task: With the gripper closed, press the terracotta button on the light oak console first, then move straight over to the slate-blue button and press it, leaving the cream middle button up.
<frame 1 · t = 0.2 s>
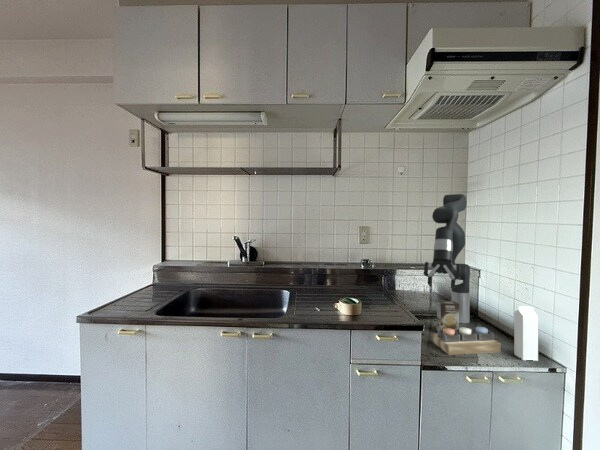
hand: (440, 287, 129), 30 cm above the table, tool tilted 20°, fingers open, 8 cm apart
coffee box: (447, 332, 158), on the table
milk: (525, 357, 128), on the table
cream button: (465, 331, 139), point 7 cm above the table, slide at 0.0 cm
console: (465, 346, 140), on the table
slate blue button: (481, 331, 140), point 7 cm above the table, slide at 0.0 cm
terracotta button: (448, 332, 139), point 7 cm above the table, slide at 0.0 cm
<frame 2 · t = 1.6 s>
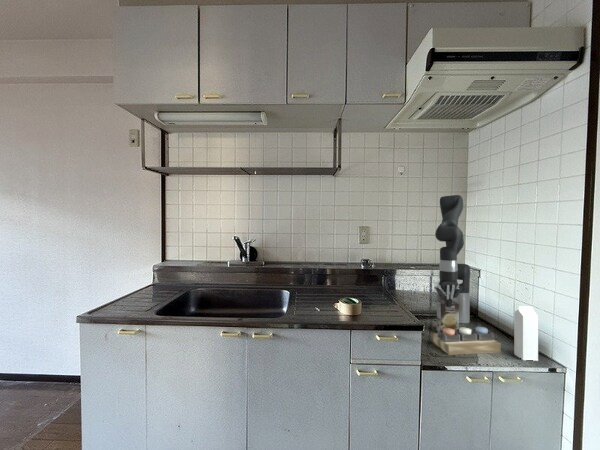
hand: (448, 306, 139), 19 cm above the table, tool pointing down, fingers closed
nothing on the table moved.
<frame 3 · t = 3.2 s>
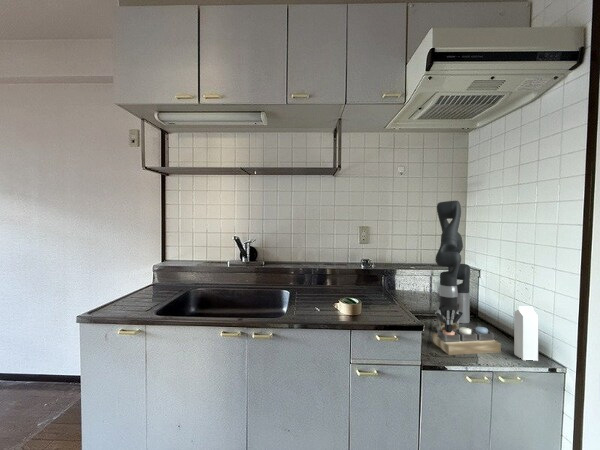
hand: (448, 331, 139), 7 cm above the table, tool pointing down, fingers closed
terracotta button: (448, 334, 139), point 6 cm above the table, slide at 0.9 cm, touching gripper
everything else where it was.
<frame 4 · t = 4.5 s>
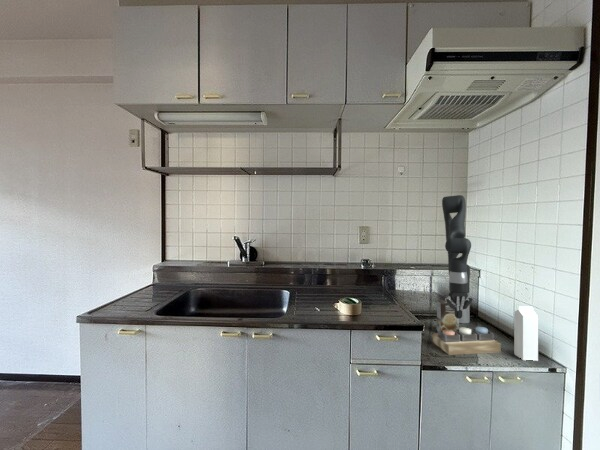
hand: (458, 317, 140), 13 cm above the table, tool pointing down, fingers closed
terracotta button: (448, 334, 139), point 6 cm above the table, slide at 0.9 cm
everything else where it was.
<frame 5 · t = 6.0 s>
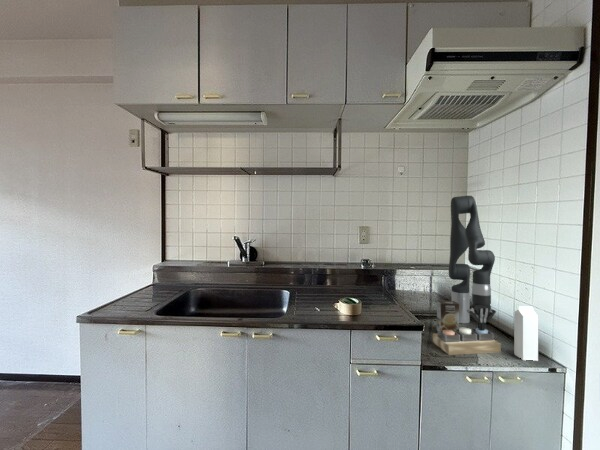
hand: (481, 329, 140), 8 cm above the table, tool pointing down, fingers closed
slate blue button: (481, 332, 140), point 6 cm above the table, slide at 0.6 cm, touching gripper
everything else where it was.
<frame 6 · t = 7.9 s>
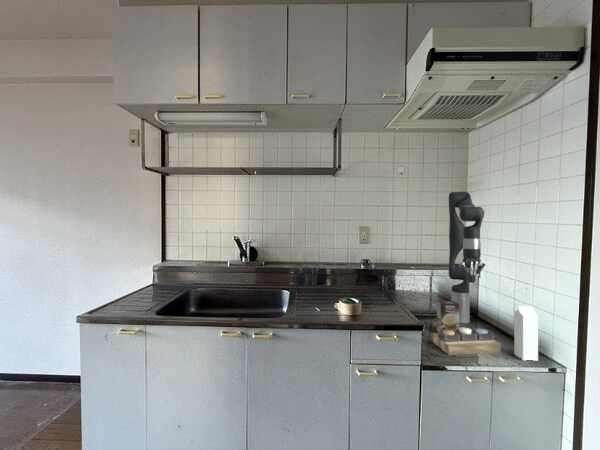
hand: (471, 282, 148), 28 cm above the table, tool pointing down, fingers closed
slate blue button: (481, 333, 140), point 6 cm above the table, slide at 1.0 cm
everything else where it was.
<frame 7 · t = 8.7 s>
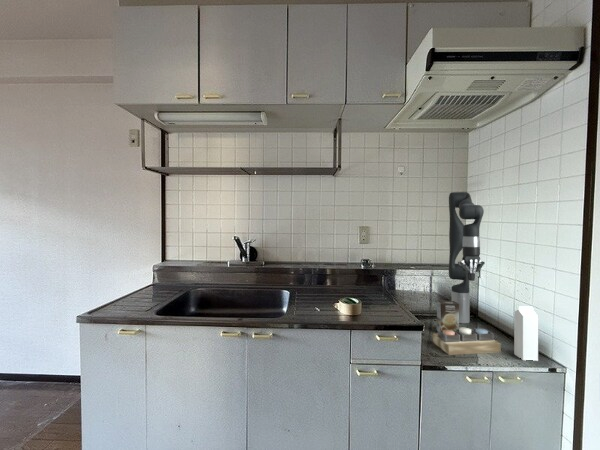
hand: (471, 280, 149), 29 cm above the table, tool pointing down, fingers closed
nothing on the table moved.
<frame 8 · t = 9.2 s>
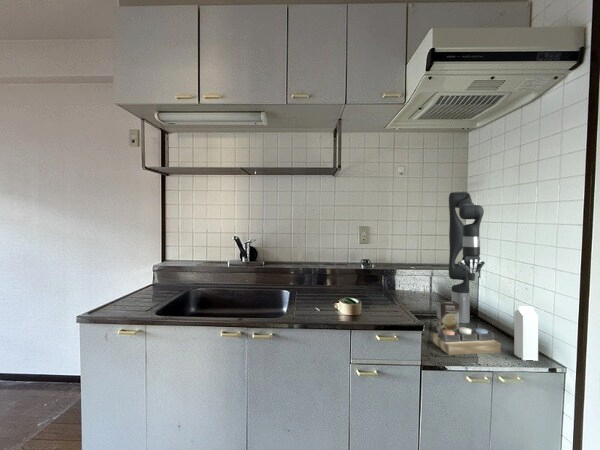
hand: (471, 280, 149), 29 cm above the table, tool pointing down, fingers closed
nothing on the table moved.
at the end: terracotta button slide at 0.9 cm; slate blue button slide at 1.0 cm; cream button slide at 0.0 cm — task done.
